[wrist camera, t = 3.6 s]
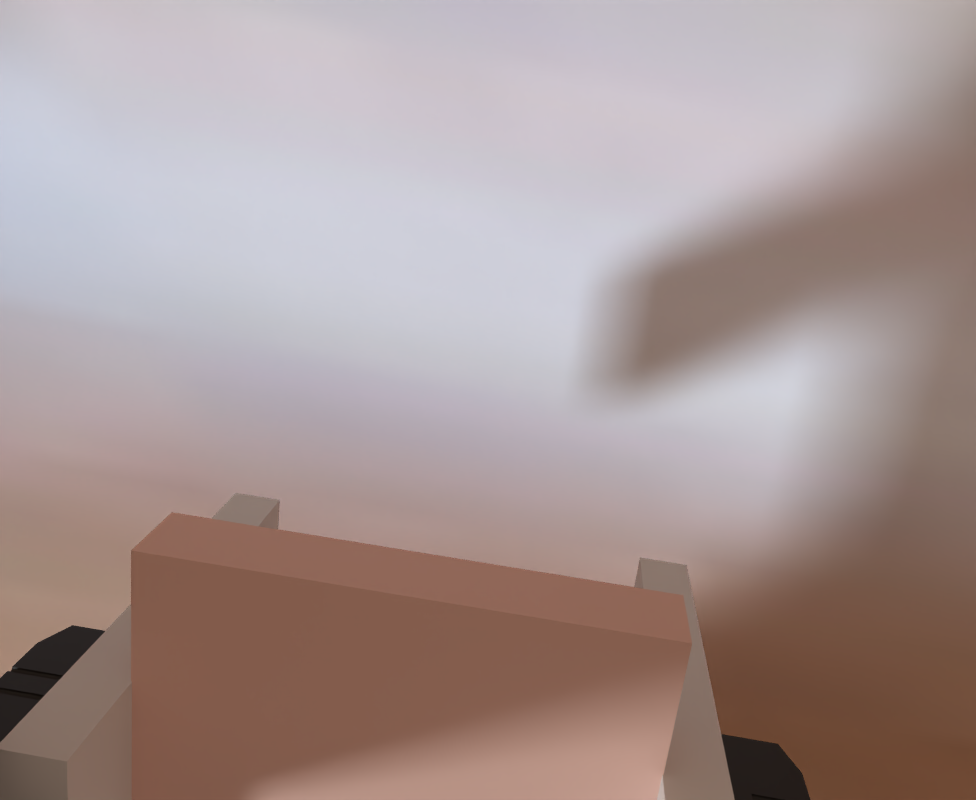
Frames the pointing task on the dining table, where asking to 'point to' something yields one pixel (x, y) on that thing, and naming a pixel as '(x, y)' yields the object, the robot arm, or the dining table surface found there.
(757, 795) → the robot arm
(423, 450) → the dining table surface
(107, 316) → the dining table surface
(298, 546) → the ticket strip
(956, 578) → the dining table surface
